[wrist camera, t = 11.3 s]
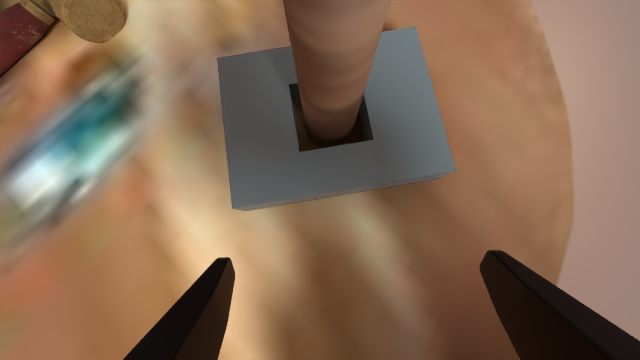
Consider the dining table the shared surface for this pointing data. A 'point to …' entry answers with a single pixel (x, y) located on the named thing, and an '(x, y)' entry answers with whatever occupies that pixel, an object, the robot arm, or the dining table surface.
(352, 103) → the peg
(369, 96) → the socket board
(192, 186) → the dining table surface
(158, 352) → the robot arm
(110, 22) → the gavel
